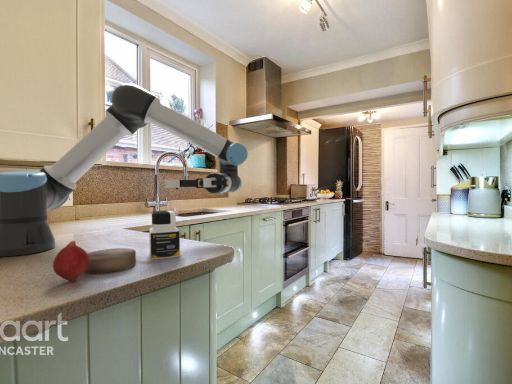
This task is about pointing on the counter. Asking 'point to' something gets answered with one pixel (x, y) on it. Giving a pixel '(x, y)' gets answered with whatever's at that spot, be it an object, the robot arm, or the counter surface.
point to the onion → (71, 262)
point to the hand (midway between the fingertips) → (184, 183)
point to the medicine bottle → (164, 235)
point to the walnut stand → (111, 260)
